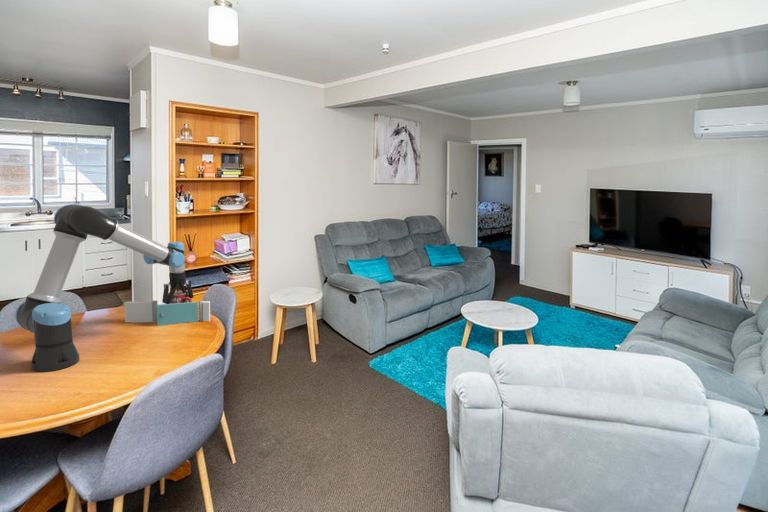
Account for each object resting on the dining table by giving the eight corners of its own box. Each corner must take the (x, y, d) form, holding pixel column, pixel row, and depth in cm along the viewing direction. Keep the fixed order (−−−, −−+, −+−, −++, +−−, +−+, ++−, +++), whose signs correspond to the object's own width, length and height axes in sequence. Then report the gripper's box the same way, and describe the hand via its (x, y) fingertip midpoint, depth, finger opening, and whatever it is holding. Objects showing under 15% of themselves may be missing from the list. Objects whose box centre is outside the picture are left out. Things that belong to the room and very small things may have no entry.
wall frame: (209, 321, 226) (208, 301, 224) (125, 322, 219) (124, 301, 218) (210, 320, 228) (209, 300, 226) (127, 321, 221) (126, 300, 220)
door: (198, 322, 223) (197, 303, 222) (157, 326, 215) (156, 306, 213) (198, 320, 227) (197, 301, 225) (157, 324, 218) (156, 304, 216)
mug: (162, 319, 223) (163, 293, 221) (173, 314, 232) (173, 290, 230) (185, 321, 221) (185, 296, 219) (195, 317, 230) (195, 292, 228)
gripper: (192, 267, 233) (193, 308, 236) (152, 273, 216) (154, 316, 219) (200, 269, 228) (201, 310, 232) (160, 275, 211) (162, 319, 215)
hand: (178, 313), depth 226 cm, fingers closed on mug, 8 cm apart
